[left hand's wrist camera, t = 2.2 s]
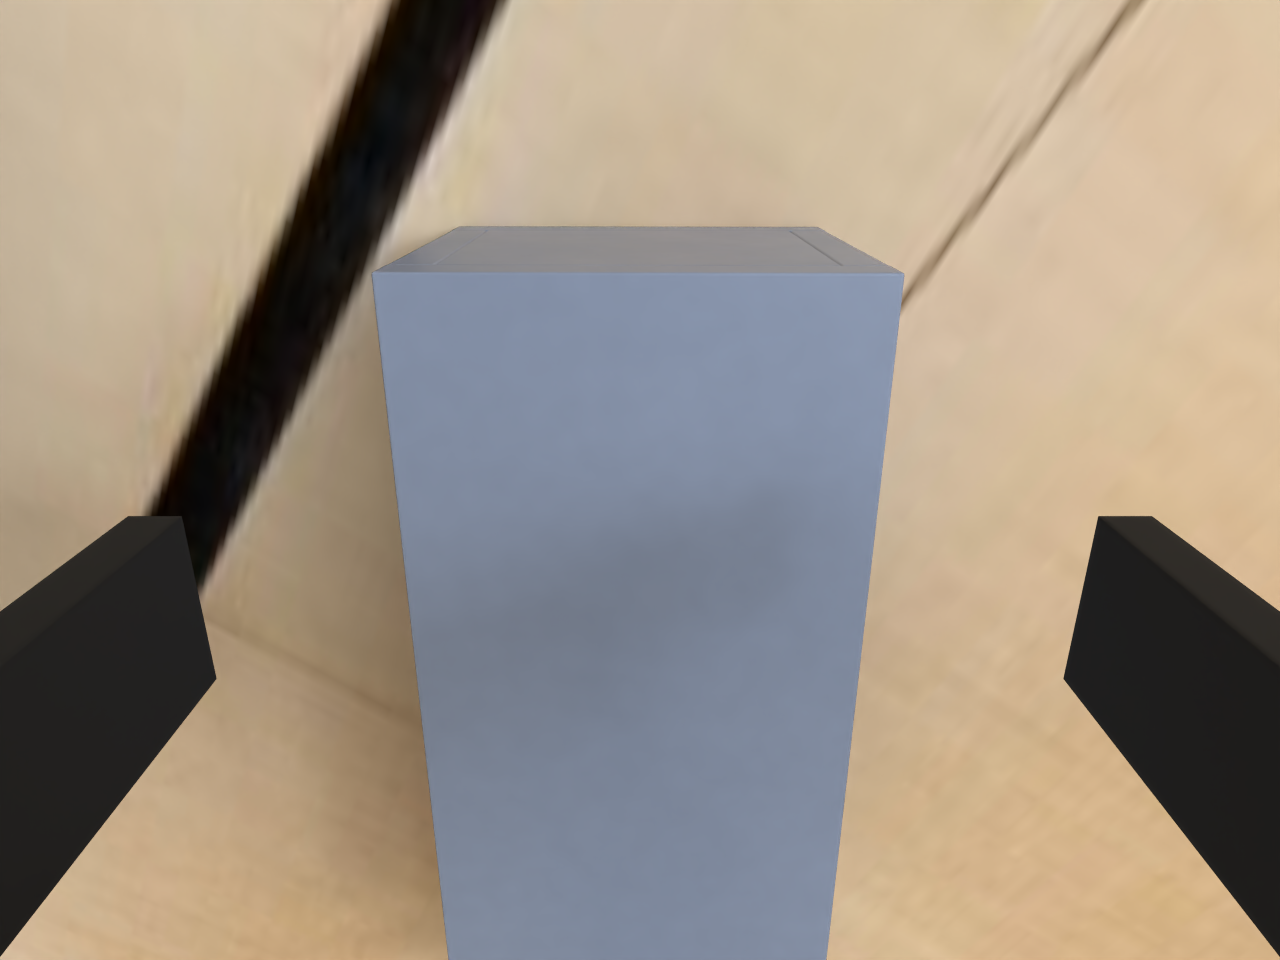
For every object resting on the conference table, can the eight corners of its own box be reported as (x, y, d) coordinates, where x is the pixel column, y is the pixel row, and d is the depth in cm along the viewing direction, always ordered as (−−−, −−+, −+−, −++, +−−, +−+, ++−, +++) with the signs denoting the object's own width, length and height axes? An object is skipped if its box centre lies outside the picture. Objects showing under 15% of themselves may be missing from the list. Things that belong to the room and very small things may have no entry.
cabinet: (772, 837, 32) (814, 1063, 24) (503, 837, 32) (459, 1063, 24) (819, 227, 24) (905, 272, 16) (457, 226, 24) (370, 272, 16)
